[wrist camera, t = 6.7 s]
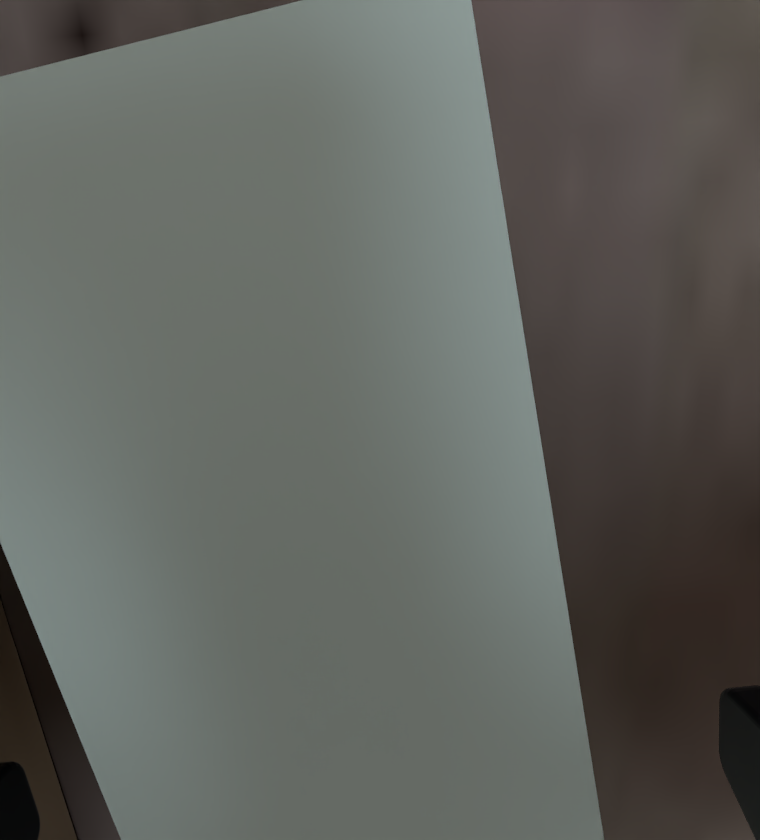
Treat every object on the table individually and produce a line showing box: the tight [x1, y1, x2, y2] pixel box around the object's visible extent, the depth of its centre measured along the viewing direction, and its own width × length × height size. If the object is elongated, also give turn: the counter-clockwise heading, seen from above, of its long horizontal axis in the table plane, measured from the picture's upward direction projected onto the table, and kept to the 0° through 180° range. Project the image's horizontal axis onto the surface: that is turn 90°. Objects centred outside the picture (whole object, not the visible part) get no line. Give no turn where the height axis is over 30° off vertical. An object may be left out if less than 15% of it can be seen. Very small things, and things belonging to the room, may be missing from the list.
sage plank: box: [0, 0, 604, 840], centre depth 8 cm, size 14×4×4 cm, turn 12°
